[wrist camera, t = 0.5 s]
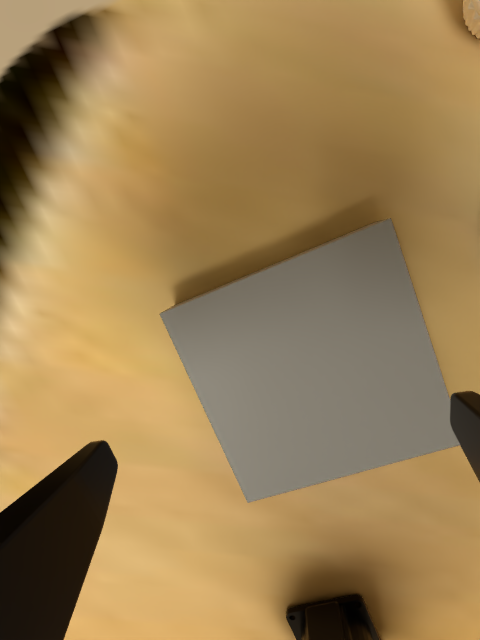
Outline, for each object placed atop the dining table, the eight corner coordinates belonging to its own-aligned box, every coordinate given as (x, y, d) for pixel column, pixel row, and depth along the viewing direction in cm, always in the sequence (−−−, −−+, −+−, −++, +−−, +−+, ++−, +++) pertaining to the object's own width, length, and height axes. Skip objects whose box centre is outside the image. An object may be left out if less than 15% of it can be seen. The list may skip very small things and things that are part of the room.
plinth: (439, 418, 22) (464, 443, 19) (251, 472, 25) (247, 502, 22) (374, 222, 20) (390, 218, 17) (174, 305, 23) (159, 313, 20)
